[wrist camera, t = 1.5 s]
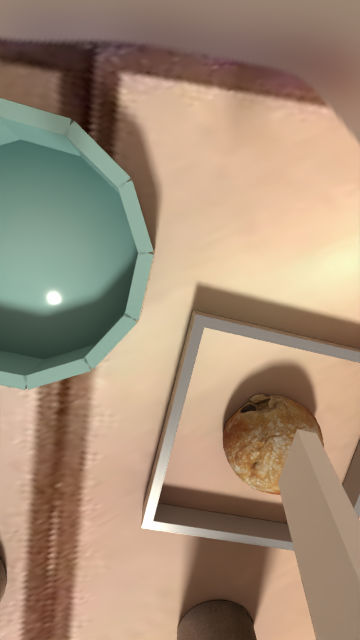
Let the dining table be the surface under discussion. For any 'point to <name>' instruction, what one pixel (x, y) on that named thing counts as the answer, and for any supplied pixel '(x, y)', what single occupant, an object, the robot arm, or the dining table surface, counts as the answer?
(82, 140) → the bowl
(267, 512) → the dining table surface
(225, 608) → the pillar candle
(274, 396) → the bread roll
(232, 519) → the rectangular frame
